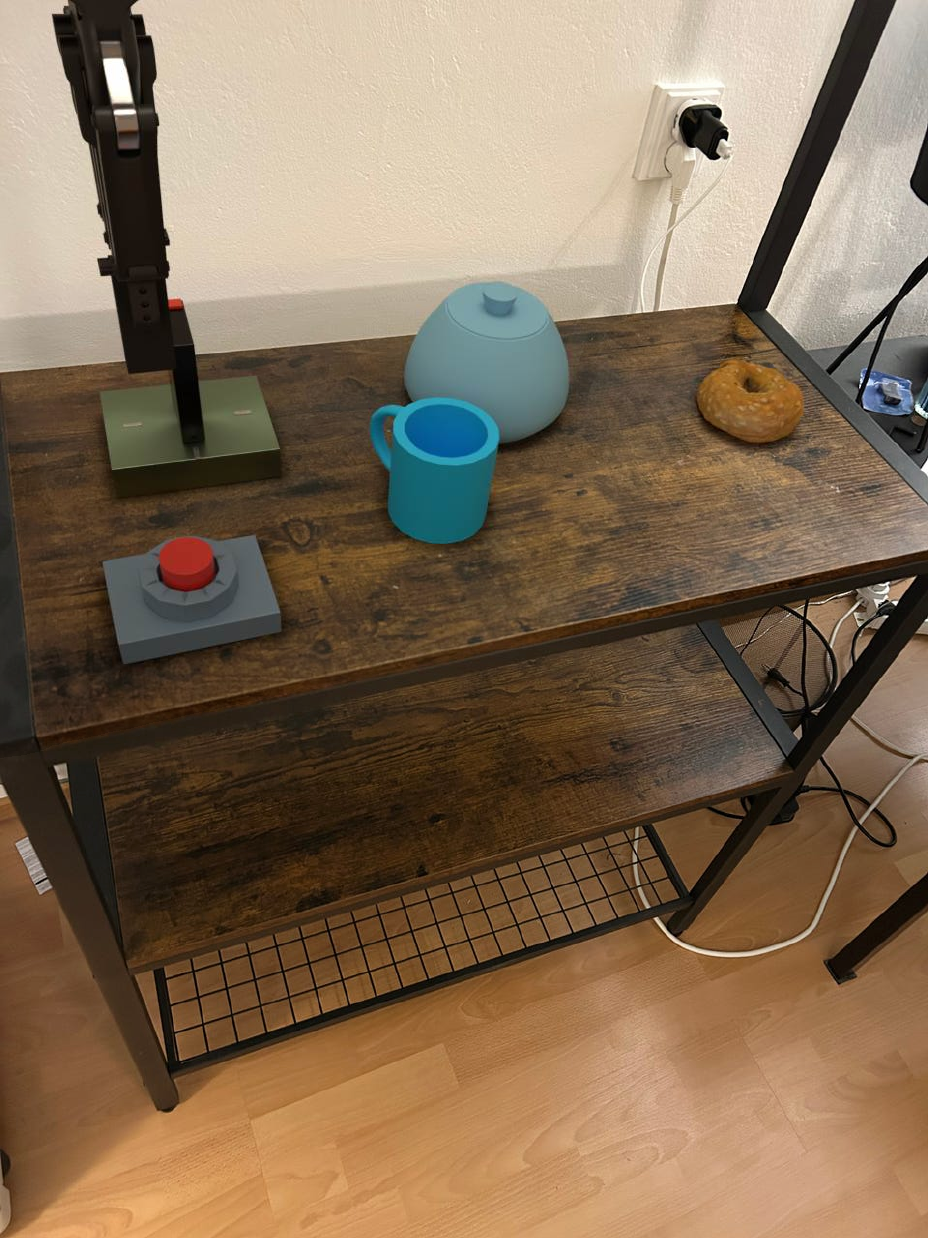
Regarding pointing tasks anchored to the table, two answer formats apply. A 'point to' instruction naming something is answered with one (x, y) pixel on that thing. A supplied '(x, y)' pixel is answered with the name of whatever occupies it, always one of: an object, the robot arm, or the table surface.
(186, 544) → the button
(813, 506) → the table surface
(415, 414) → the mug
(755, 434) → the bagel
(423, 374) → the sugar bowl
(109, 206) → the robot arm
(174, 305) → the black slab
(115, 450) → the dial panel
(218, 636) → the button housing
